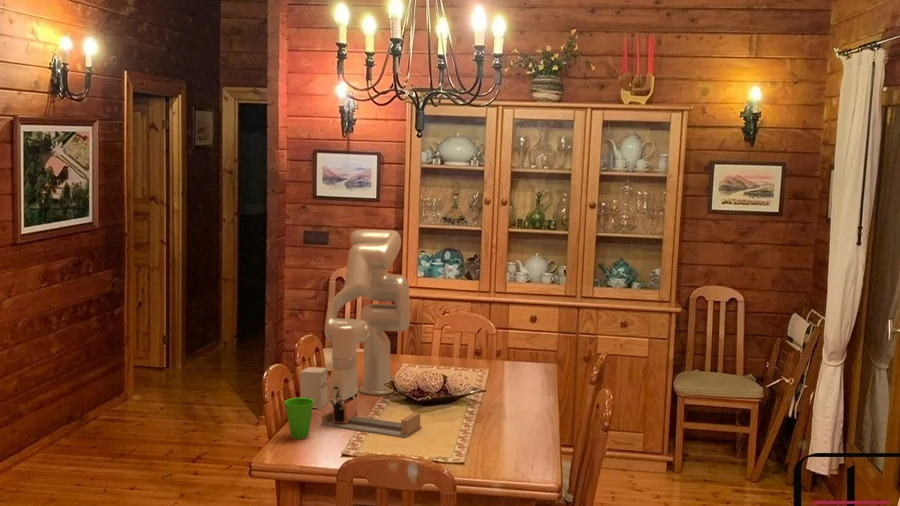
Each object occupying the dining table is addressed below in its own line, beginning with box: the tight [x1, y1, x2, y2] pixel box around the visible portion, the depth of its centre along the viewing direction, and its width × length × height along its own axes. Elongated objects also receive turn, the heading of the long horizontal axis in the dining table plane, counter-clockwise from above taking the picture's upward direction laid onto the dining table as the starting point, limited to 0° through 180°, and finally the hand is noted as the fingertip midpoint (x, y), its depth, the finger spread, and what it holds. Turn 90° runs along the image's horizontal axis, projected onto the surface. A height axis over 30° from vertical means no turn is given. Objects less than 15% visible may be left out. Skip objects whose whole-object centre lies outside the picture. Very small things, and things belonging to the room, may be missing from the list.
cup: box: [283, 396, 315, 440], centre depth 275 cm, size 9×9×11 cm
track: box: [320, 409, 422, 439], centre depth 285 cm, size 11×30×5 cm, turn 66°
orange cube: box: [332, 399, 358, 424], centre depth 289 cm, size 6×5×6 cm
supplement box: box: [299, 366, 328, 410], centre depth 307 cm, size 7×7×13 cm
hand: (344, 417), depth 289 cm, fingers closed on orange cube, 6 cm apart
